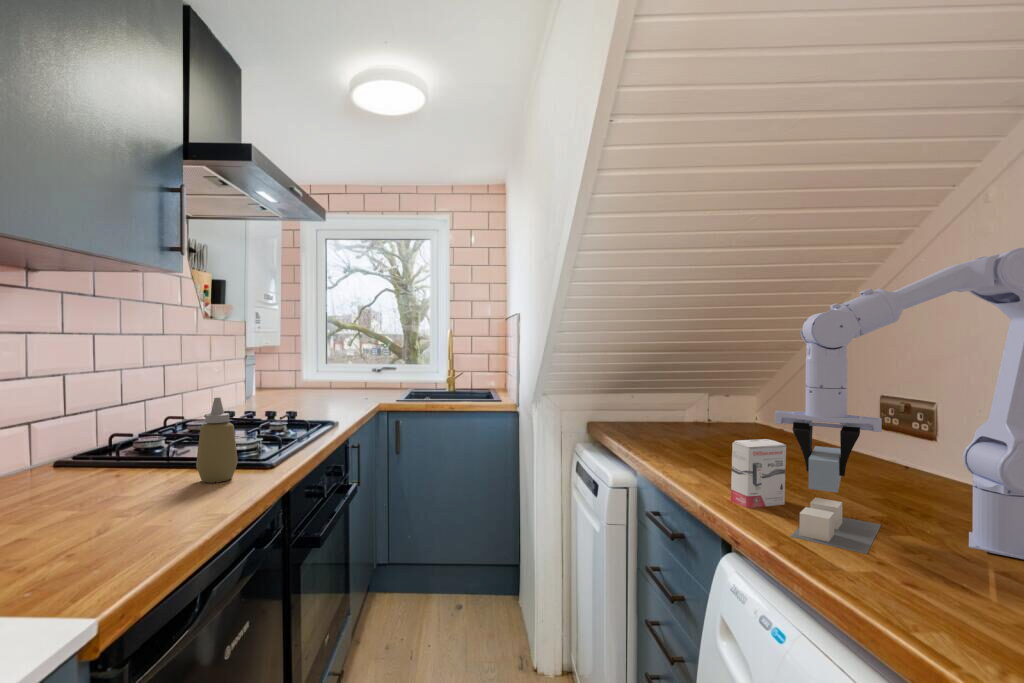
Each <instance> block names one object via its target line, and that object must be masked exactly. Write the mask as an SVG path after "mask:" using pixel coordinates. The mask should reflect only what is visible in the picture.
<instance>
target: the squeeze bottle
mask: <svg viewBox="0 0 1024 683" xmlns="http://www.w3.org/2000/svg"><path fill="white" fill-rule="evenodd" d="M204 420H205V421H204V422H205V423H204V424H203V425H201V426H200V428H199V437H198V446H197V447H198V448H197V454H196V464H195V467H196V469H197V473H198V474H199V477H200V480H201V482H203V483H207V484H209V483H211V484H213V483H215V482H216V483H223V482H227V481H230V480H231V479H233V476H234V474H235V472H236V469H237V465H238V463H239V462H238V461H239V460H238V451H237V444H236V443H237V442H236V433H235V425H234V424H233V423H231V422H230V413H229V412H226V413H225V411H224V407H223V402H222V398H221V397H214V398H213V402H212V407H211V411H210V413H209V414H205V417H204ZM222 481H223V482H222Z"/></svg>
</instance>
